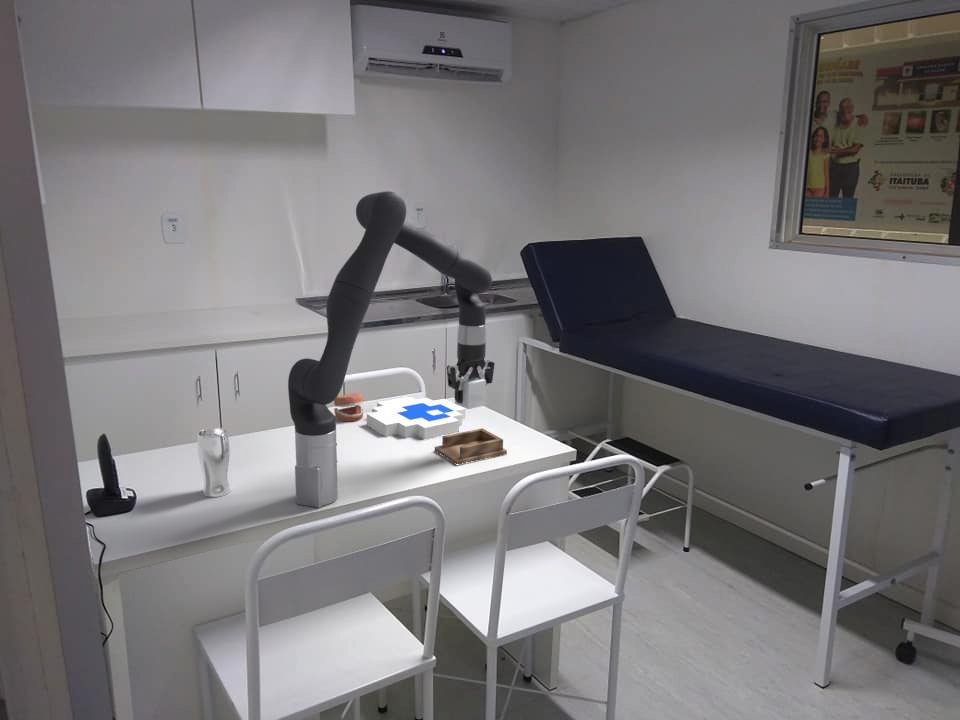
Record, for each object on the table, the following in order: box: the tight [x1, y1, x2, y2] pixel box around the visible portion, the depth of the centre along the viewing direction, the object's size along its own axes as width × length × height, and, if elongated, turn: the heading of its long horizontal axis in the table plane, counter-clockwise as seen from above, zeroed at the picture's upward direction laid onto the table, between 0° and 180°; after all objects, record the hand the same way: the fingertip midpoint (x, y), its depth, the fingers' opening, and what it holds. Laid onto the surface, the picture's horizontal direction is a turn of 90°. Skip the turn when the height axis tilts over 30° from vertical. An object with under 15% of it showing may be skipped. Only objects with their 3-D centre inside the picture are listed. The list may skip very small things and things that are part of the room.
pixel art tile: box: [366, 396, 466, 440], centre depth 224 cm, size 28×4×28 cm
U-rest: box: [434, 428, 508, 465], centre depth 201 cm, size 16×12×4 cm
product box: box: [454, 376, 487, 410], centre depth 197 cm, size 6×6×7 cm
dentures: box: [333, 392, 364, 422], centre depth 225 cm, size 9×7×8 cm
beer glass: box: [197, 427, 231, 498], centre depth 171 cm, size 7×7×15 cm
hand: (470, 400), depth 198 cm, fingers closed on product box, 6 cm apart
